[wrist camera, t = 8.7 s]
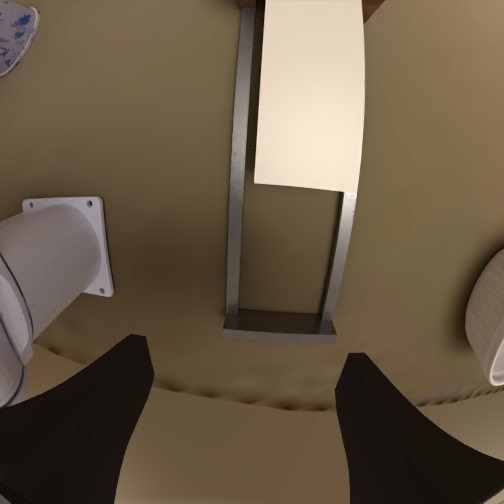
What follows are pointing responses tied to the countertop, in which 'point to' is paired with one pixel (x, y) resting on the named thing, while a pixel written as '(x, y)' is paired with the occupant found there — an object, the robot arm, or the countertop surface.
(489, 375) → the ramekin
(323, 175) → the banded cream case
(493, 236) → the countertop surface
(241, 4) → the socket block
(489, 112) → the countertop surface
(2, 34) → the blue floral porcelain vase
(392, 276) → the countertop surface
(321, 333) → the guide channel
